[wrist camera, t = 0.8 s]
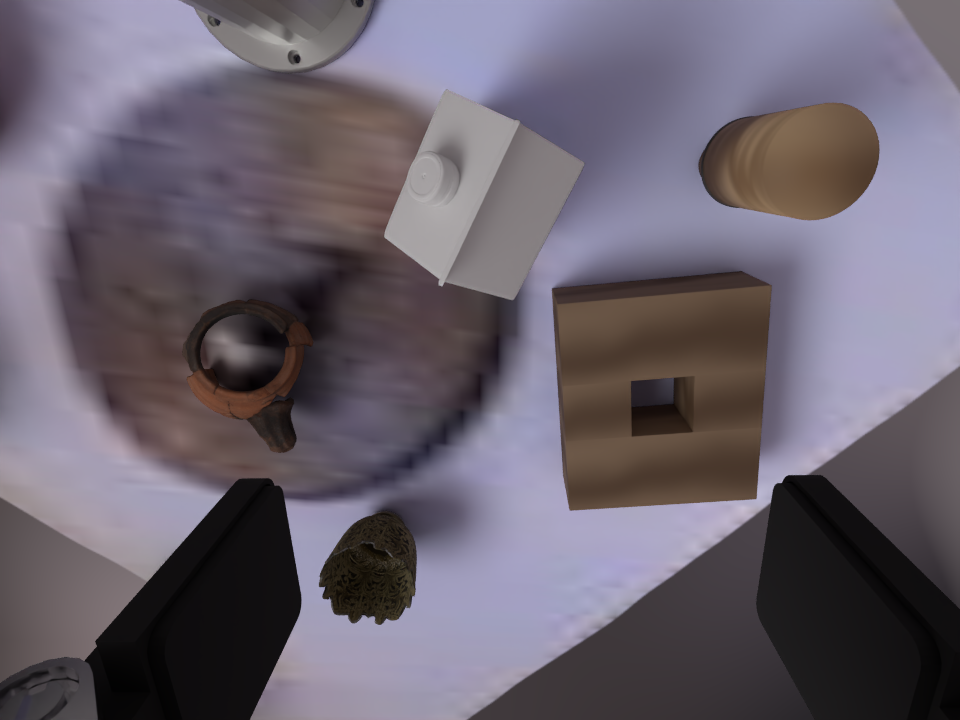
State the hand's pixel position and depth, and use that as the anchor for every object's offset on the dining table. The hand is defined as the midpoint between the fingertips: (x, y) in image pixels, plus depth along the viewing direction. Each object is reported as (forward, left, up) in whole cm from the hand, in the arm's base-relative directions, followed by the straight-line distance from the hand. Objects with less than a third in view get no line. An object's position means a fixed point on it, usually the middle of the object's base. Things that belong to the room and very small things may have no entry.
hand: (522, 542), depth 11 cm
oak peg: (-5, +15, -33) cm, 37 cm away
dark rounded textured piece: (+23, -13, -33) cm, 42 cm away
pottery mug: (+7, -20, -33) cm, 40 cm away
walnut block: (+11, +10, -33) cm, 36 cm away
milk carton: (-5, -1, -33) cm, 34 cm away
